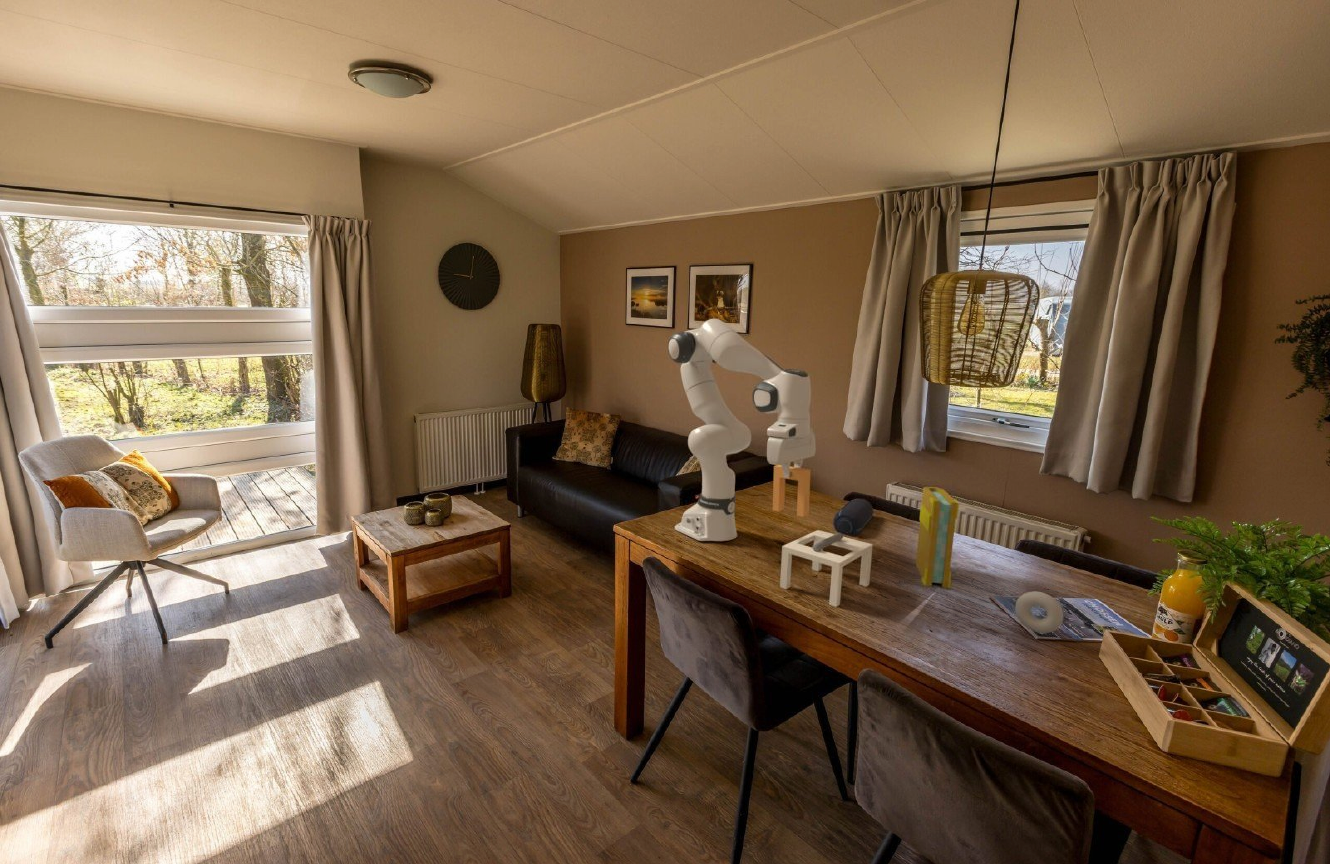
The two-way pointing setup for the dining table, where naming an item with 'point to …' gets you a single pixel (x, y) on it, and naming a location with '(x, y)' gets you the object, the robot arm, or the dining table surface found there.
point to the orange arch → (803, 489)
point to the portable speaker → (853, 517)
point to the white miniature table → (827, 559)
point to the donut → (1034, 623)
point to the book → (936, 536)
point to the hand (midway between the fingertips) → (791, 476)
